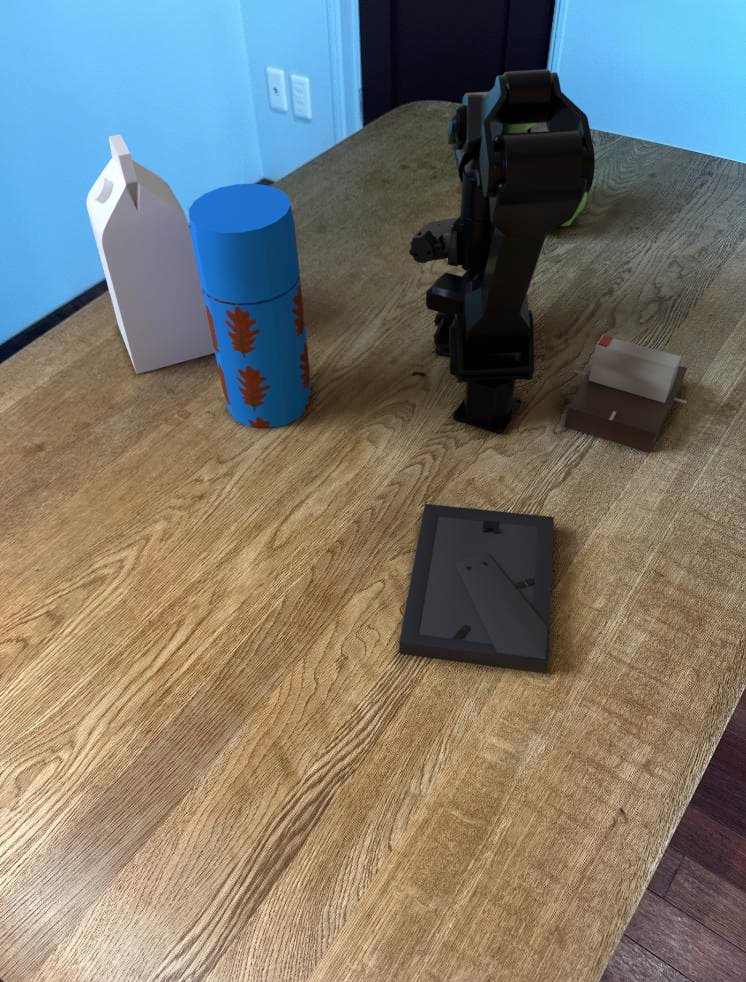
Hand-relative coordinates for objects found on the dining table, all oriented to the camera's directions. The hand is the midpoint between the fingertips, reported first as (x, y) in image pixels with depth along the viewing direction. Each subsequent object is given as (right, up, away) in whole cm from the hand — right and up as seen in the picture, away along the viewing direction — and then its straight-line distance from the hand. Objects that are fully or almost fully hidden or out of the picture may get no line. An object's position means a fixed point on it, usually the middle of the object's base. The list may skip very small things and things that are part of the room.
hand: (476, 326), depth 105 cm
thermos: (-26, -10, -3) cm, 29 cm away
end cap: (0, -2, +2) cm, 3 cm away
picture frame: (-4, -32, -25) cm, 41 cm away
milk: (-41, 0, +7) cm, 42 cm away
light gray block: (+16, -10, -10) cm, 21 cm away
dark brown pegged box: (+16, -12, -8) cm, 22 cm away
